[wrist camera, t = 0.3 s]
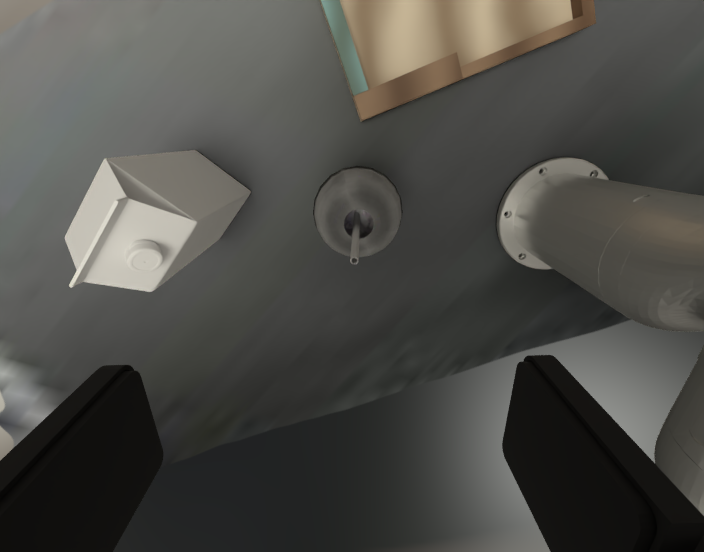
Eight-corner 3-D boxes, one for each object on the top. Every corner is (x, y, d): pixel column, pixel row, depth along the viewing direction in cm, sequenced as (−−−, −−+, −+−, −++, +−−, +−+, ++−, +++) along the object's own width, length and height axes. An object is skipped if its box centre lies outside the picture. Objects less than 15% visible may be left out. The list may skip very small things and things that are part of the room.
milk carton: (164, 201, 39) (14, 255, 22) (195, 149, 37) (57, 161, 20) (219, 239, 41) (121, 317, 23) (252, 191, 39) (171, 237, 21)
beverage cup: (397, 169, 38) (442, 201, 20) (376, 231, 41) (397, 311, 22) (333, 148, 37) (316, 161, 19) (315, 213, 40) (285, 280, 21)
